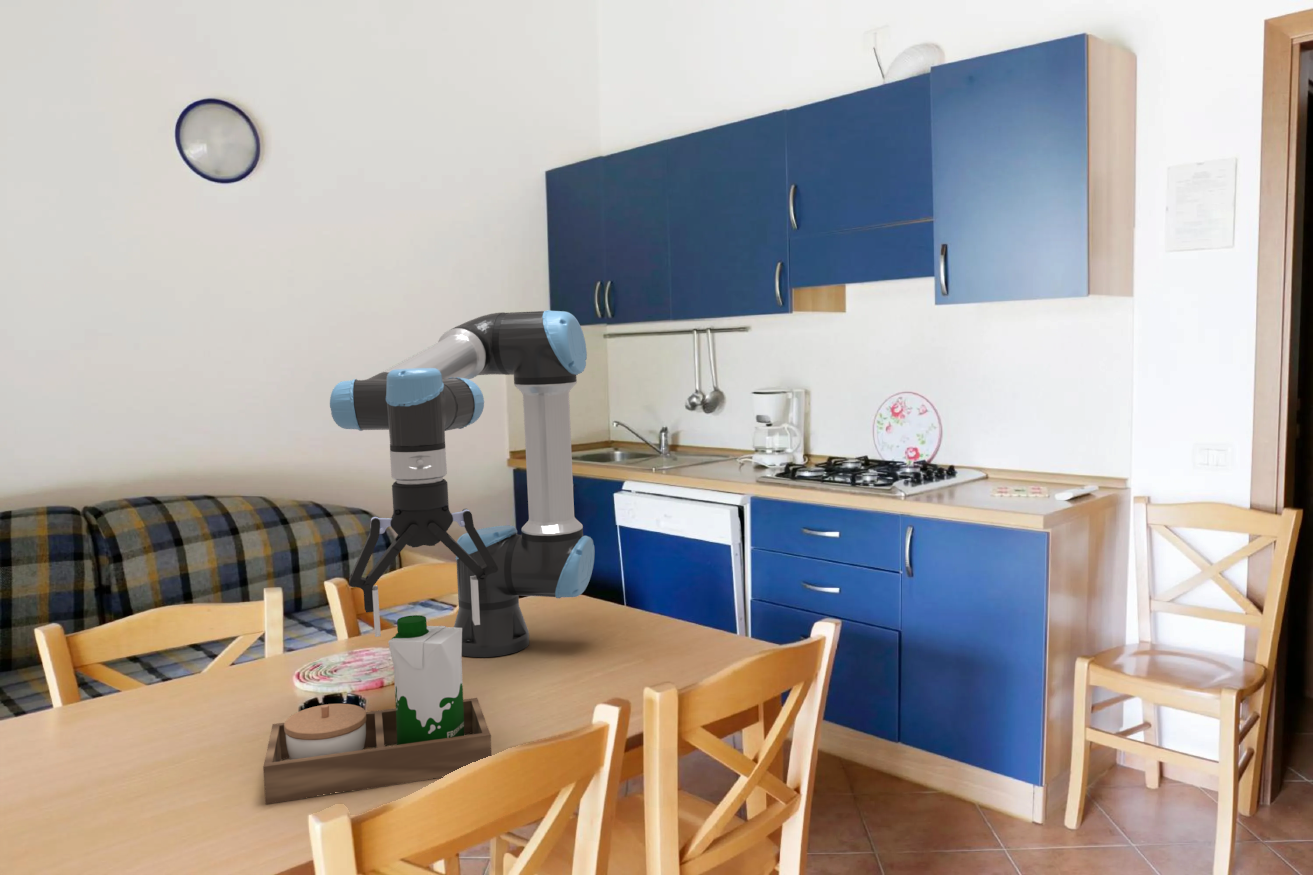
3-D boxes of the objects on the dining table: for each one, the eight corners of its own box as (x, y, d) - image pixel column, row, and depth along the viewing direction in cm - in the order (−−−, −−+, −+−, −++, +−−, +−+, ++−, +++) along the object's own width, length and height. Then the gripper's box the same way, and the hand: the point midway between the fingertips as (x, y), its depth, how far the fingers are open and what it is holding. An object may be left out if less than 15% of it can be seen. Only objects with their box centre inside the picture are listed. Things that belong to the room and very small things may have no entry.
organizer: (274, 757, 137) (272, 723, 137) (478, 729, 146) (477, 697, 145) (265, 804, 123) (263, 766, 122) (492, 769, 131) (490, 734, 131)
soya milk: (416, 741, 142) (410, 610, 140) (473, 745, 140) (468, 612, 138) (388, 767, 133) (381, 627, 131) (449, 771, 131) (442, 629, 129)
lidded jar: (299, 757, 137) (296, 693, 136) (376, 753, 138) (372, 690, 137) (276, 791, 126) (272, 722, 126) (359, 786, 127) (355, 718, 126)
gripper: (324, 490, 125) (334, 646, 128) (513, 476, 133) (519, 625, 135) (325, 482, 133) (335, 630, 135) (505, 469, 140) (511, 610, 142)
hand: (427, 628), depth 135 cm, fingers open, 13 cm apart
